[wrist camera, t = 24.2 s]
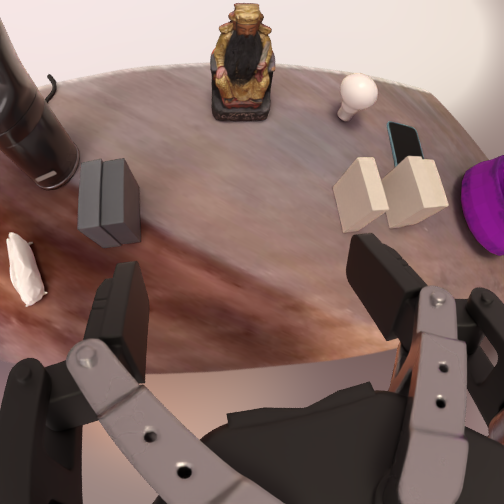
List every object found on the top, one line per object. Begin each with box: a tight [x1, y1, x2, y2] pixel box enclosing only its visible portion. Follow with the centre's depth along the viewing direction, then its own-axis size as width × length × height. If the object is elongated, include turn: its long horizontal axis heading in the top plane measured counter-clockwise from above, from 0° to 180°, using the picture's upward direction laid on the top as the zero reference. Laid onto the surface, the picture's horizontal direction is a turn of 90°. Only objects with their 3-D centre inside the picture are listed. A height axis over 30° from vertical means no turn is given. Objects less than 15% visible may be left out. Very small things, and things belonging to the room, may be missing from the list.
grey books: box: [78, 158, 141, 248], centre depth 38 cm, size 6×9×10 cm, turn 8°
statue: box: [210, 3, 275, 121], centre depth 39 cm, size 12×8×20 cm, turn 88°
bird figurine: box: [6, 232, 48, 307], centre depth 36 cm, size 5×7×10 cm
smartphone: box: [387, 121, 424, 167], centre depth 51 cm, size 7×1×15 cm
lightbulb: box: [338, 73, 378, 121], centre depth 46 cm, size 6×6×11 cm
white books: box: [381, 156, 449, 228], centre depth 43 cm, size 6×8×10 cm
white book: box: [333, 157, 389, 233], centre depth 42 cm, size 3×8×10 cm, turn 8°
